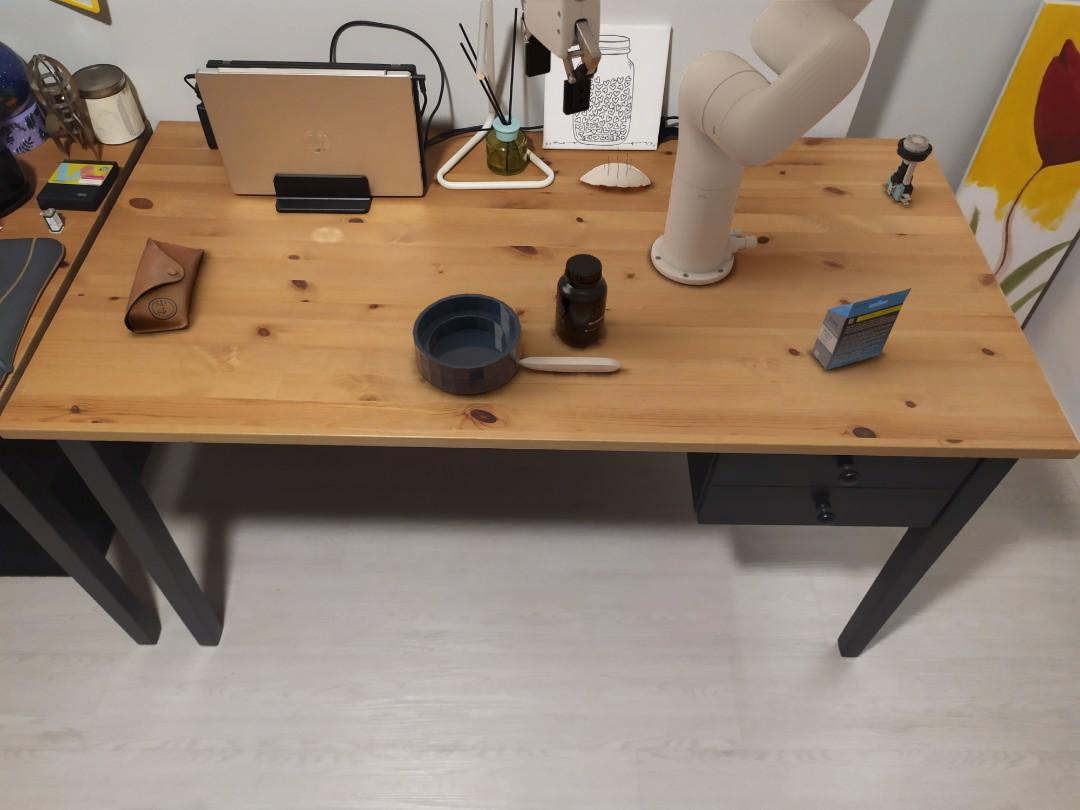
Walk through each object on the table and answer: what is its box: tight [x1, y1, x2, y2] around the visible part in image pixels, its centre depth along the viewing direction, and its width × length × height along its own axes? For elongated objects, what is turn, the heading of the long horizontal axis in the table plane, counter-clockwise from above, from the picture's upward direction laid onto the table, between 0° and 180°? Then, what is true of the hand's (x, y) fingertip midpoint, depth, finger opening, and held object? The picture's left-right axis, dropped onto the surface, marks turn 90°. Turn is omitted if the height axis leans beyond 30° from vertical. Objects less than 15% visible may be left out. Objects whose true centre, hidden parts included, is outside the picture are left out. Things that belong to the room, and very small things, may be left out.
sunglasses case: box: [123, 236, 205, 334], centre depth 118 cm, size 18×7×7 cm
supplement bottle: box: [554, 253, 608, 348], centre depth 110 cm, size 7×7×12 cm
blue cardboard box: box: [811, 287, 912, 371], centre depth 107 cm, size 9×4×12 cm, turn 110°
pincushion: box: [579, 146, 651, 189], centre depth 136 cm, size 12×6×6 cm, turn 87°
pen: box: [519, 356, 621, 373], centre depth 109 cm, size 2×14×2 cm, turn 90°
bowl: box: [412, 293, 523, 395], centre depth 109 cm, size 14×14×6 cm
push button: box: [886, 133, 934, 206], centre depth 133 cm, size 7×5×10 cm
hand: (556, 92), depth 95 cm, fingers open, 9 cm apart
